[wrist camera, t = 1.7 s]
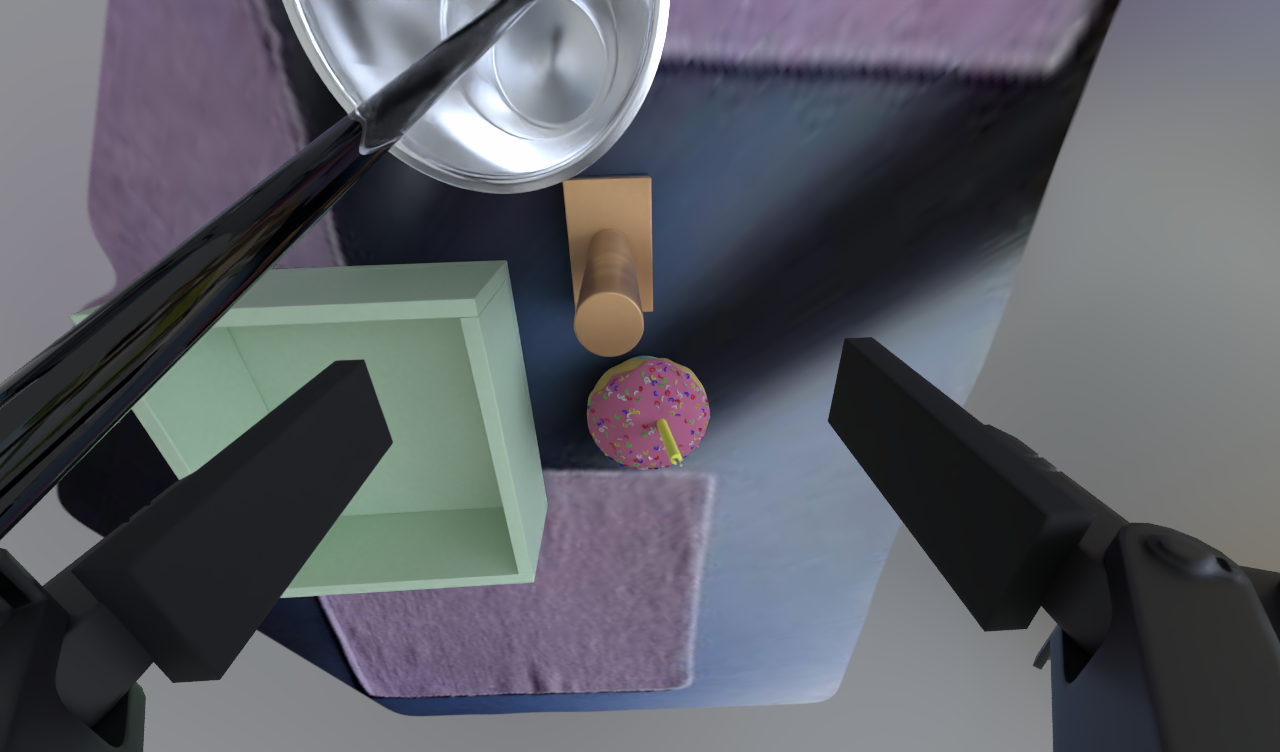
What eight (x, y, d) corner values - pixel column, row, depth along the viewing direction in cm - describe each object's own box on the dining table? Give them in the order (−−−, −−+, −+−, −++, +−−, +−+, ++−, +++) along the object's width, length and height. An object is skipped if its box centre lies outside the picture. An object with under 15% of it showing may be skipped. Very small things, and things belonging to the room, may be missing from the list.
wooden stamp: (567, 175, 28) (524, 214, 15) (647, 173, 28) (678, 208, 15) (578, 300, 32) (553, 419, 18) (649, 297, 32) (675, 413, 19)
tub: (198, 271, 29) (67, 315, 22) (507, 259, 30) (474, 298, 23) (321, 517, 40) (258, 599, 33) (547, 504, 40) (533, 582, 33)
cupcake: (628, 312, 32) (635, 399, 22) (721, 367, 35) (768, 469, 24) (569, 400, 35) (551, 513, 25) (658, 444, 38) (676, 564, 27)
